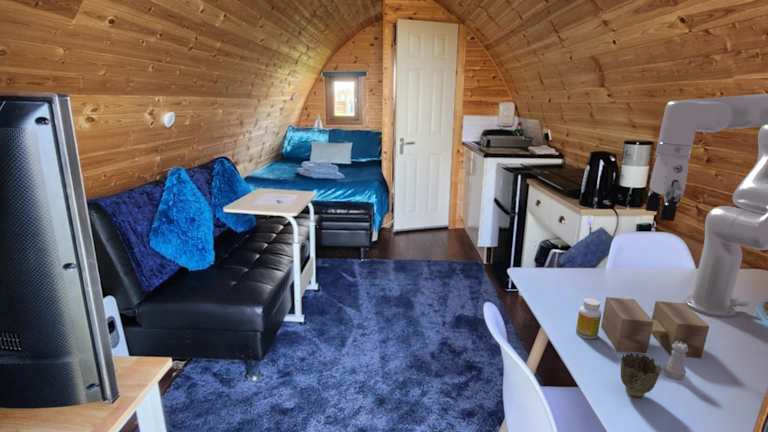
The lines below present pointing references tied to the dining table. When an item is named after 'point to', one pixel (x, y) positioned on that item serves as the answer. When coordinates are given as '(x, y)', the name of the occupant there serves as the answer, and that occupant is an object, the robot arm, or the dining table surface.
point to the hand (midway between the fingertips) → (658, 215)
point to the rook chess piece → (676, 362)
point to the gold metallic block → (658, 328)
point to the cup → (639, 374)
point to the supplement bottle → (589, 319)
